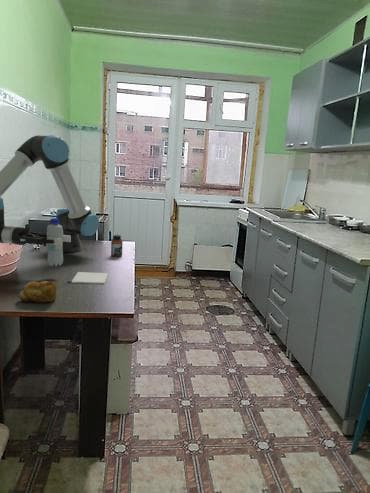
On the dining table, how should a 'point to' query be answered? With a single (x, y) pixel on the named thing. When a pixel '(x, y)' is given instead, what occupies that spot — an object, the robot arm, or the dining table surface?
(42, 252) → the dining table surface
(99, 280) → the mat
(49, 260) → the bottle
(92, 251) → the dining table surface
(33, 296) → the bread roll
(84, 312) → the dining table surface
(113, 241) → the supplement bottle
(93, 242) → the dining table surface
